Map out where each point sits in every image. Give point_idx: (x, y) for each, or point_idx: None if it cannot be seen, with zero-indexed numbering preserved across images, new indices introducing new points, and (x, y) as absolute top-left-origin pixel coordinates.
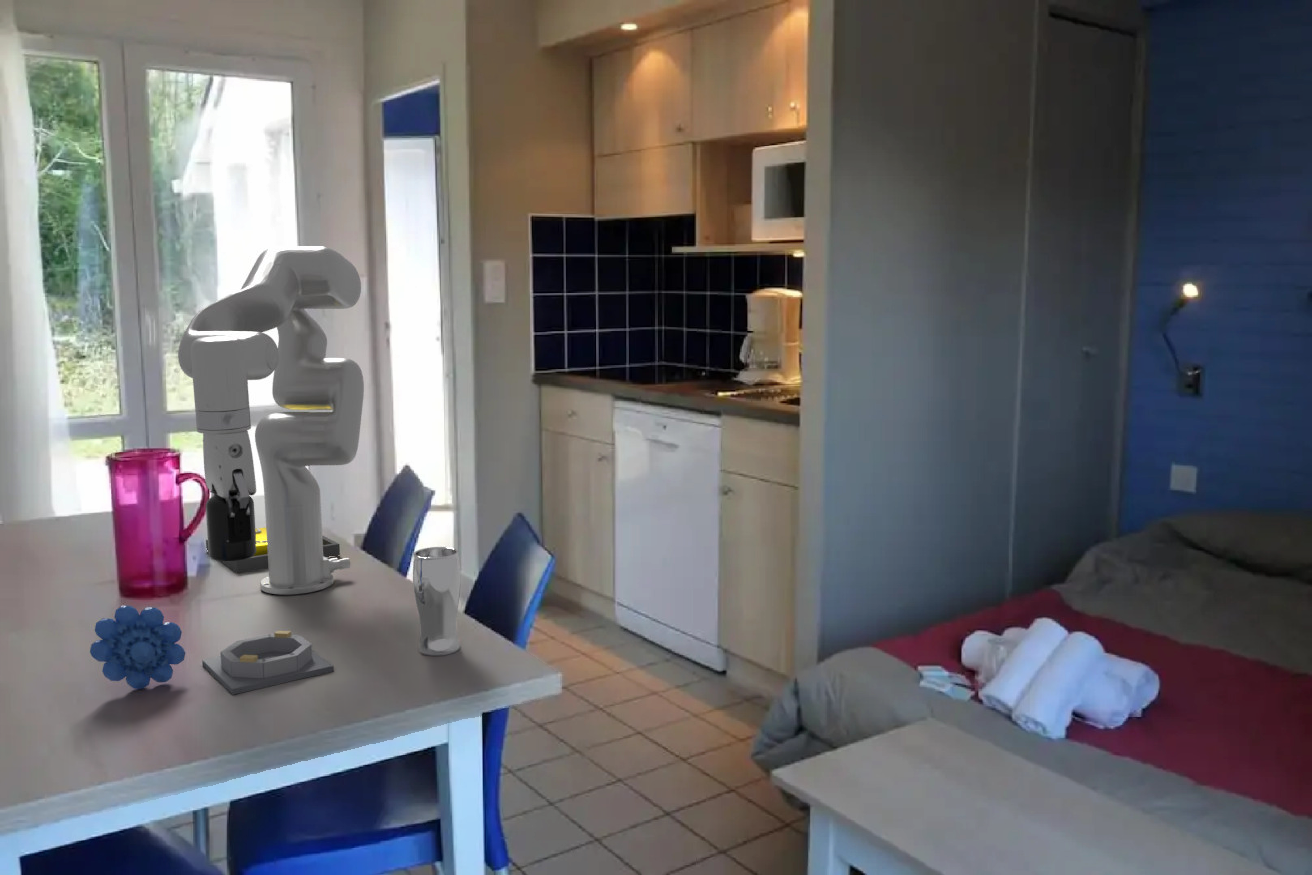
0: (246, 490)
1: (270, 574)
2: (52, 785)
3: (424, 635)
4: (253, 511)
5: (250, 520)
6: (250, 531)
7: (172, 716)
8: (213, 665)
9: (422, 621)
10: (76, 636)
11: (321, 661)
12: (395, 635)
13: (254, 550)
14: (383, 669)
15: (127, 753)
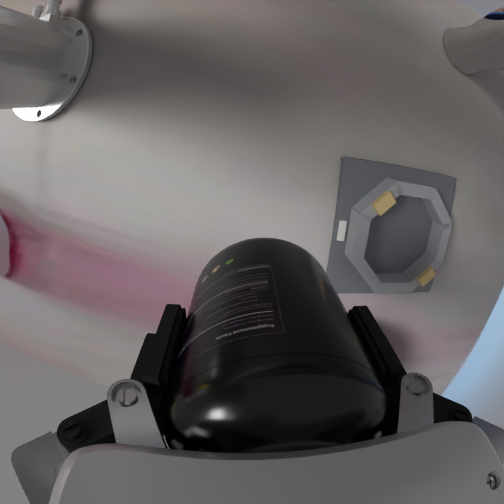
0: (501, 456)
1: (30, 106)
2: (435, 392)
3: (480, 69)
4: (352, 342)
5: (358, 336)
6: (374, 321)
7: (420, 337)
8: (355, 288)
9: (492, 68)
10: (120, 354)
11: (438, 180)
12: (393, 41)
13: (315, 259)
14: (477, 135)
15: (440, 364)
